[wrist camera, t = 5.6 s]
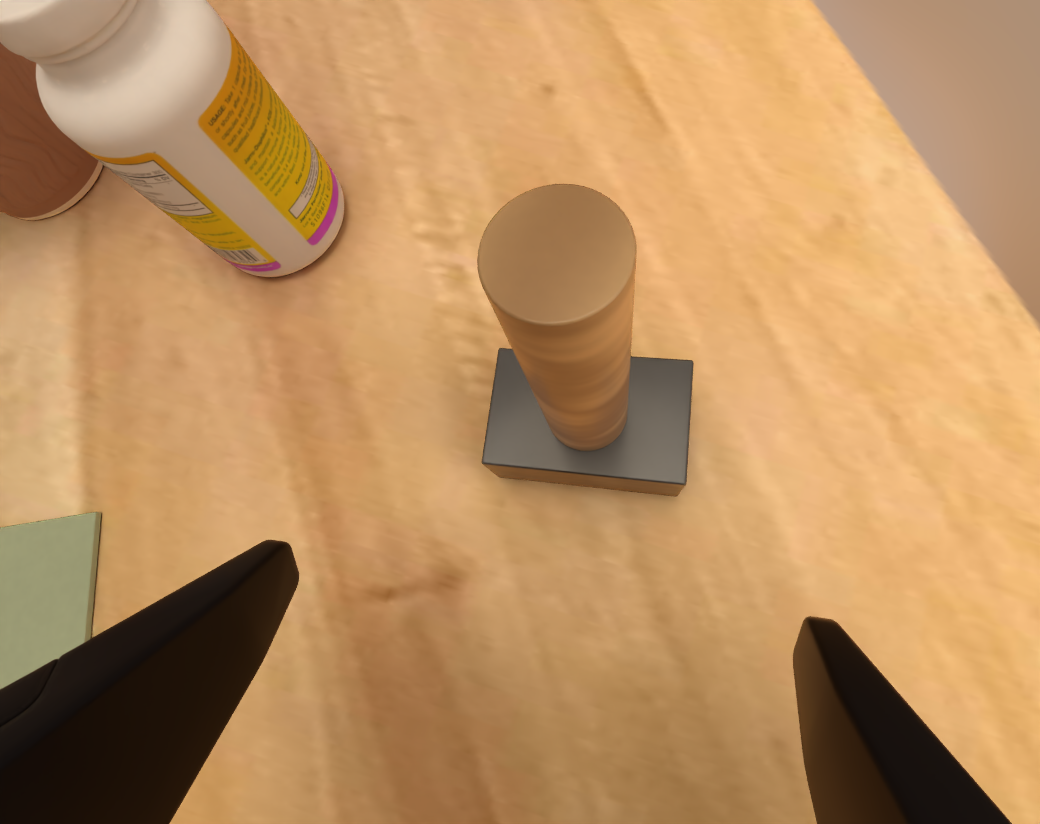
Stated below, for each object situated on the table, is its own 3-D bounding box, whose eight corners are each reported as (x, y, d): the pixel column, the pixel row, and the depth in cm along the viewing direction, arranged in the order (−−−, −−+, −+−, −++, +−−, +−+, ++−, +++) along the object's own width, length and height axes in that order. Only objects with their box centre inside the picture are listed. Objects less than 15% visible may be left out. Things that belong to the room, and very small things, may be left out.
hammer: (684, 386, 23) (770, 143, 10) (677, 496, 22) (763, 385, 9) (512, 373, 24) (390, 145, 11) (498, 477, 23) (344, 356, 10)
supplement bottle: (323, 143, 29) (109, -167, 17) (369, 240, 27) (162, -33, 15) (209, 205, 29) (-85, -58, 17) (246, 307, 27) (-60, 90, 15)
